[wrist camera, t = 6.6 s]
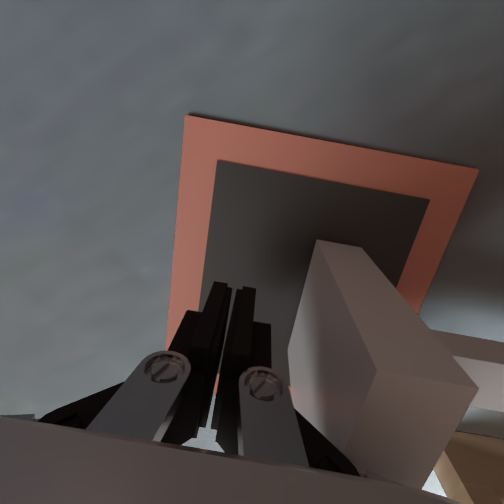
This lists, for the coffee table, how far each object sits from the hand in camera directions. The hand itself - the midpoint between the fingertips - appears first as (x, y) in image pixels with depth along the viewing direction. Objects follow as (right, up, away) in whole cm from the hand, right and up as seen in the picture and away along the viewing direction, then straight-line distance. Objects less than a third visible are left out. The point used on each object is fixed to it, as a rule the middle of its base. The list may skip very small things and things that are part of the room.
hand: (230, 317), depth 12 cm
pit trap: (+3, +1, +3) cm, 4 cm away
